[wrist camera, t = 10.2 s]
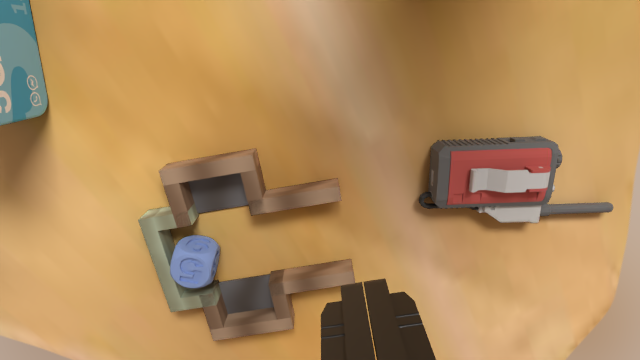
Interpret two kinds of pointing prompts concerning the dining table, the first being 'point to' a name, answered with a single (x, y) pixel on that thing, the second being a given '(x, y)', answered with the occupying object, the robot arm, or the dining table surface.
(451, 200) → the walkie-talkie
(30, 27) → the light blue box
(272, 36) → the dining table surface
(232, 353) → the dining table surface
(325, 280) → the trap channel
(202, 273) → the decorative dice
